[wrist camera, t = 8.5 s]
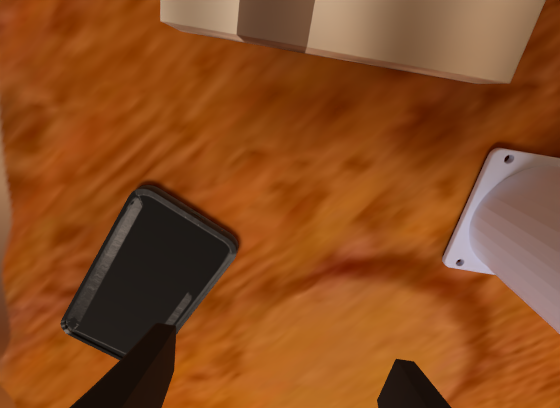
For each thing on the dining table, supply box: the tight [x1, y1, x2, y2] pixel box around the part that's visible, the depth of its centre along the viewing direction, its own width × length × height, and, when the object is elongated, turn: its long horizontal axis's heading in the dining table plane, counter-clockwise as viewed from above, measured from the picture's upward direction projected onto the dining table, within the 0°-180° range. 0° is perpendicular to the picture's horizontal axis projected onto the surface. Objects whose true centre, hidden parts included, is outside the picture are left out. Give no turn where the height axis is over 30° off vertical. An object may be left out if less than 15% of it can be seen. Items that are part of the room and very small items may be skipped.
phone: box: [61, 185, 238, 360], centre depth 21 cm, size 8×1×15 cm
